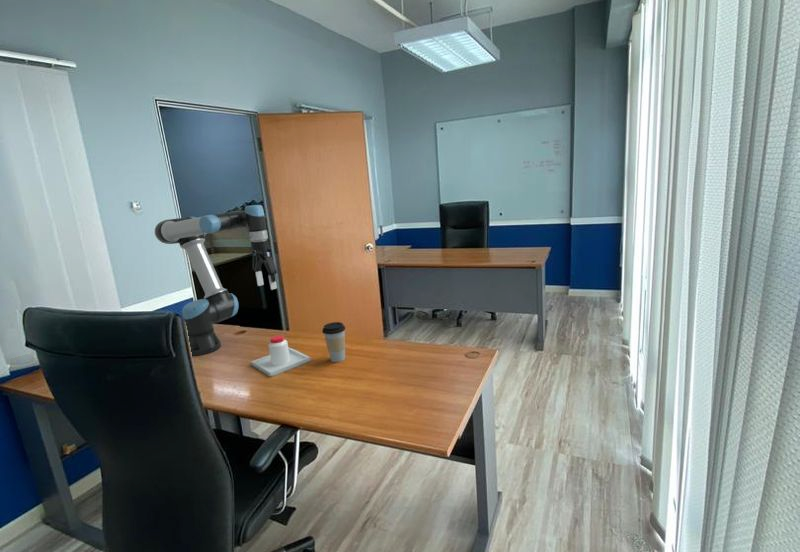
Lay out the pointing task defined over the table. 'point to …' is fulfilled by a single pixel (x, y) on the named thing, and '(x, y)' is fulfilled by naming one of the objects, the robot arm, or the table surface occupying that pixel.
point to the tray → (271, 370)
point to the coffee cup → (335, 340)
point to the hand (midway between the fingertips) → (267, 287)
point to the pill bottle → (279, 350)
